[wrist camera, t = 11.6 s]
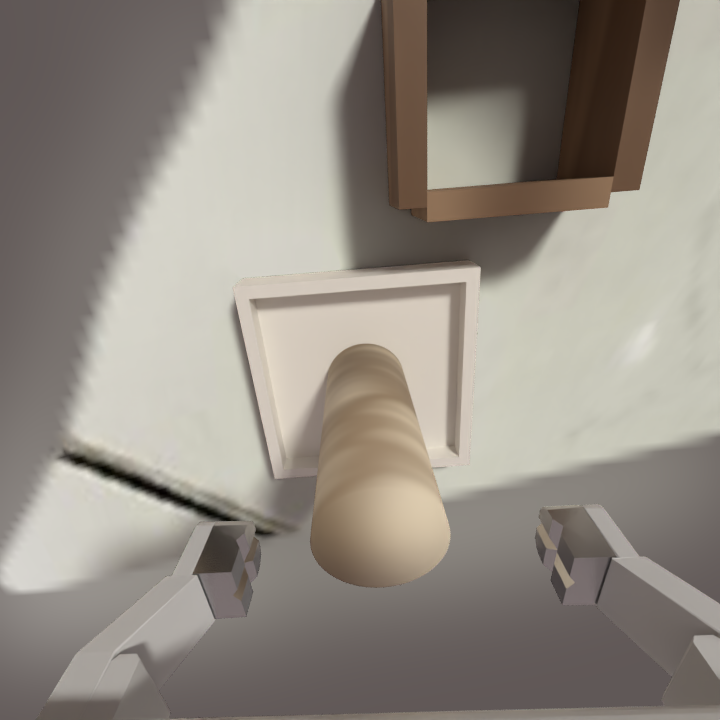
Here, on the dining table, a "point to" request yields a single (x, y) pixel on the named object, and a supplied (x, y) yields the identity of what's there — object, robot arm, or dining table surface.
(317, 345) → the tray
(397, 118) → the holder
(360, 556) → the dowel
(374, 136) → the dining table surface
